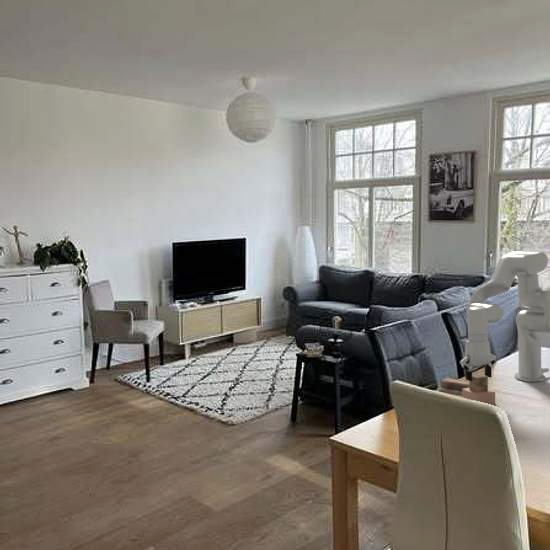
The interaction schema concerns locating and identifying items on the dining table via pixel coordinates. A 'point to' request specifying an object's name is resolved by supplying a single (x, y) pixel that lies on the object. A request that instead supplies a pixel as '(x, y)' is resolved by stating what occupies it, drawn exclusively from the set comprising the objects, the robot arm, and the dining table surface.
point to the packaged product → (453, 386)
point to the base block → (479, 395)
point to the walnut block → (479, 383)
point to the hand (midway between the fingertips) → (478, 378)
